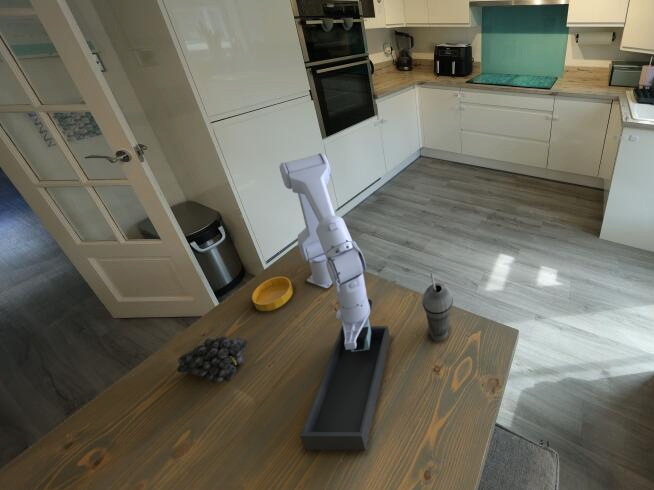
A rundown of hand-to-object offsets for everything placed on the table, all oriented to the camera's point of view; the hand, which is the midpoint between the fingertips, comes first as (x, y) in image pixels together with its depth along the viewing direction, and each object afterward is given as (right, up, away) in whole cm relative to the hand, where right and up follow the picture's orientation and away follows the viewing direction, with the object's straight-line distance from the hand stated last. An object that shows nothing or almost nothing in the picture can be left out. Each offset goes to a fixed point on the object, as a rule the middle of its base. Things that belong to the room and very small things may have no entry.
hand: (361, 338), depth 72 cm
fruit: (-33, -6, -1) cm, 33 cm away
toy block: (0, -1, +1) cm, 1 cm away
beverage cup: (+18, -3, +7) cm, 19 cm away
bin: (0, -8, -5) cm, 9 cm away
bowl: (-30, +2, +16) cm, 34 cm away
